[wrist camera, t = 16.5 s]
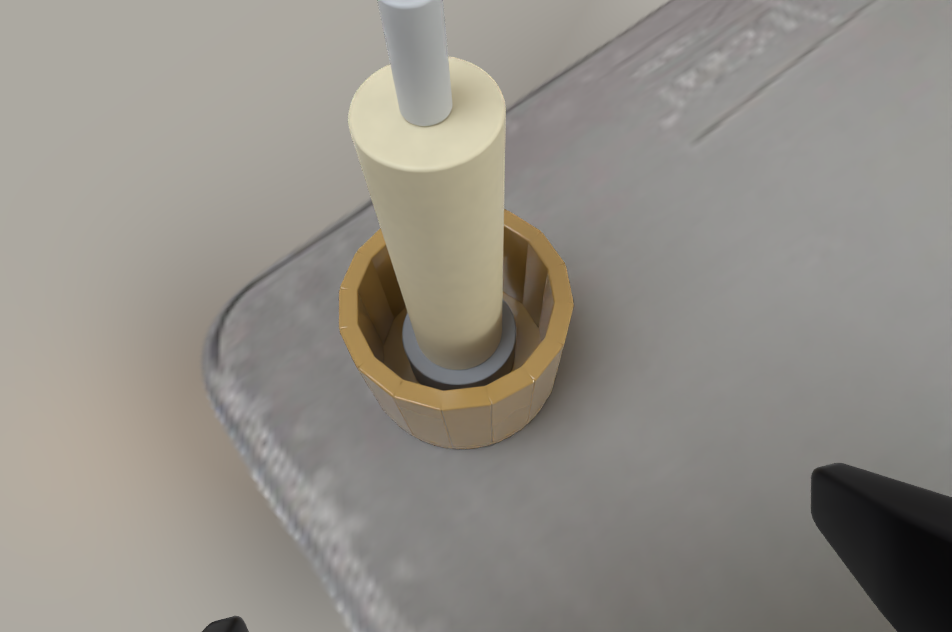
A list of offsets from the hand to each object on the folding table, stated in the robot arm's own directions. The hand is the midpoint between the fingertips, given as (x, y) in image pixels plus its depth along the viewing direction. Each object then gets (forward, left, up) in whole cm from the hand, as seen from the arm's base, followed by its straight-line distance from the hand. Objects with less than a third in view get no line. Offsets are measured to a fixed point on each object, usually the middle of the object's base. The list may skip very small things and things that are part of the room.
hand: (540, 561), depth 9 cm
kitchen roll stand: (+5, +6, -10) cm, 13 cm away
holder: (+5, +6, -11) cm, 13 cm away
